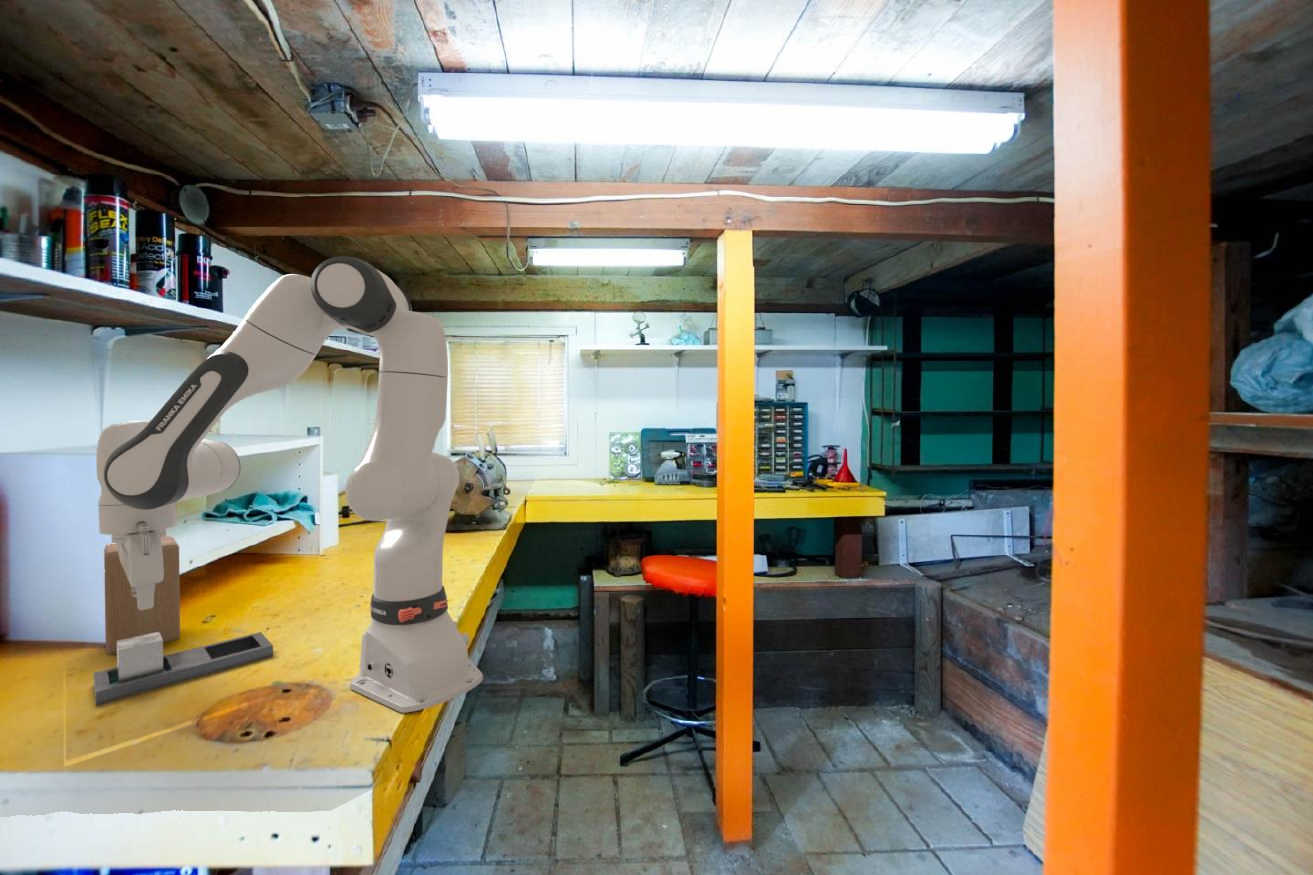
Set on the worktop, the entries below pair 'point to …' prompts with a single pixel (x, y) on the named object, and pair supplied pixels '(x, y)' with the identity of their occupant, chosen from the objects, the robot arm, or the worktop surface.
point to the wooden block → (123, 607)
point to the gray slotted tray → (185, 666)
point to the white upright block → (139, 657)
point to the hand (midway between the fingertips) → (142, 601)
